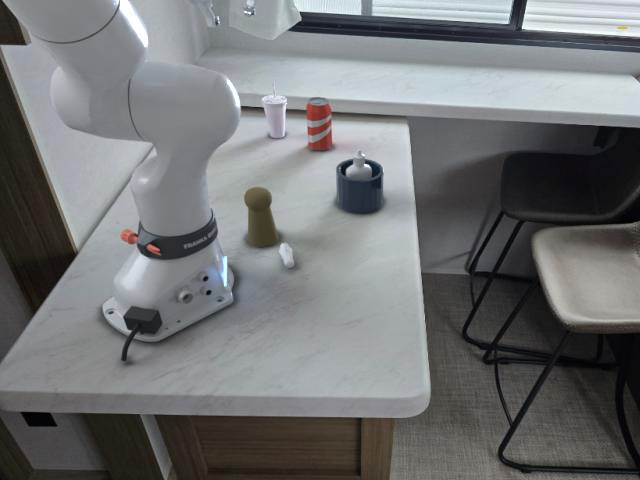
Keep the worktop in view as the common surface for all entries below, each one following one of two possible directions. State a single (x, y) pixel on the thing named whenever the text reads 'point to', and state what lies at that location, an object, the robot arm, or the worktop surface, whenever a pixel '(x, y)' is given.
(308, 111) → the beverage can
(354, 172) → the eye dropper bottle
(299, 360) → the worktop surface
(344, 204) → the dark blue round pot
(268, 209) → the olive pawn
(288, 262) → the small white plastic part
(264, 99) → the smoothie
